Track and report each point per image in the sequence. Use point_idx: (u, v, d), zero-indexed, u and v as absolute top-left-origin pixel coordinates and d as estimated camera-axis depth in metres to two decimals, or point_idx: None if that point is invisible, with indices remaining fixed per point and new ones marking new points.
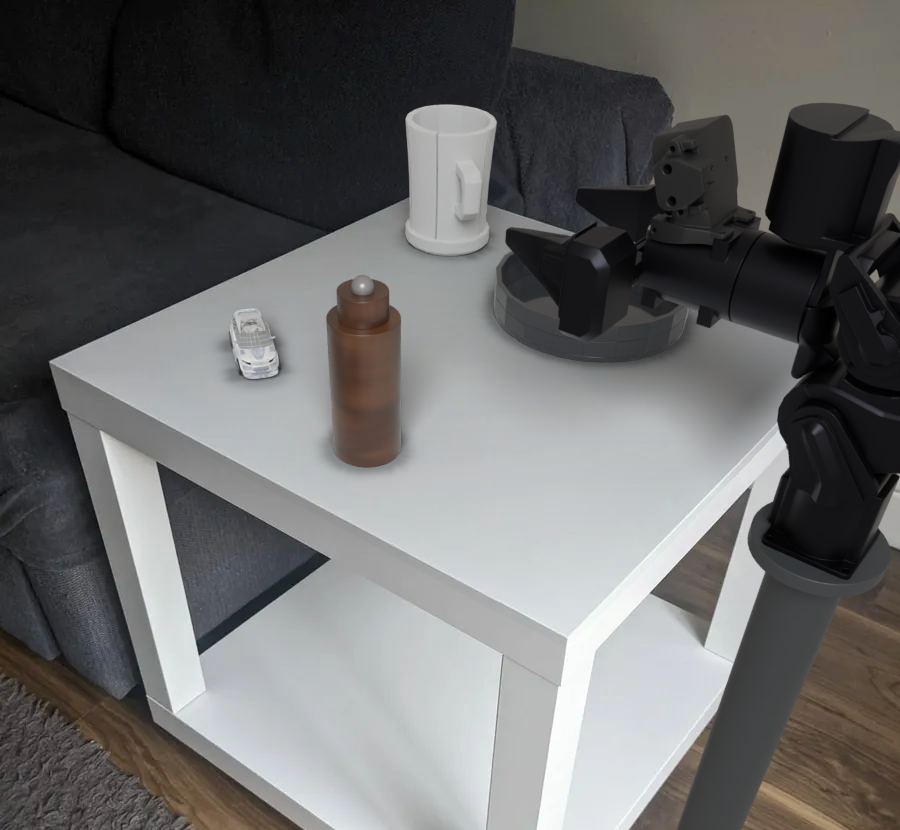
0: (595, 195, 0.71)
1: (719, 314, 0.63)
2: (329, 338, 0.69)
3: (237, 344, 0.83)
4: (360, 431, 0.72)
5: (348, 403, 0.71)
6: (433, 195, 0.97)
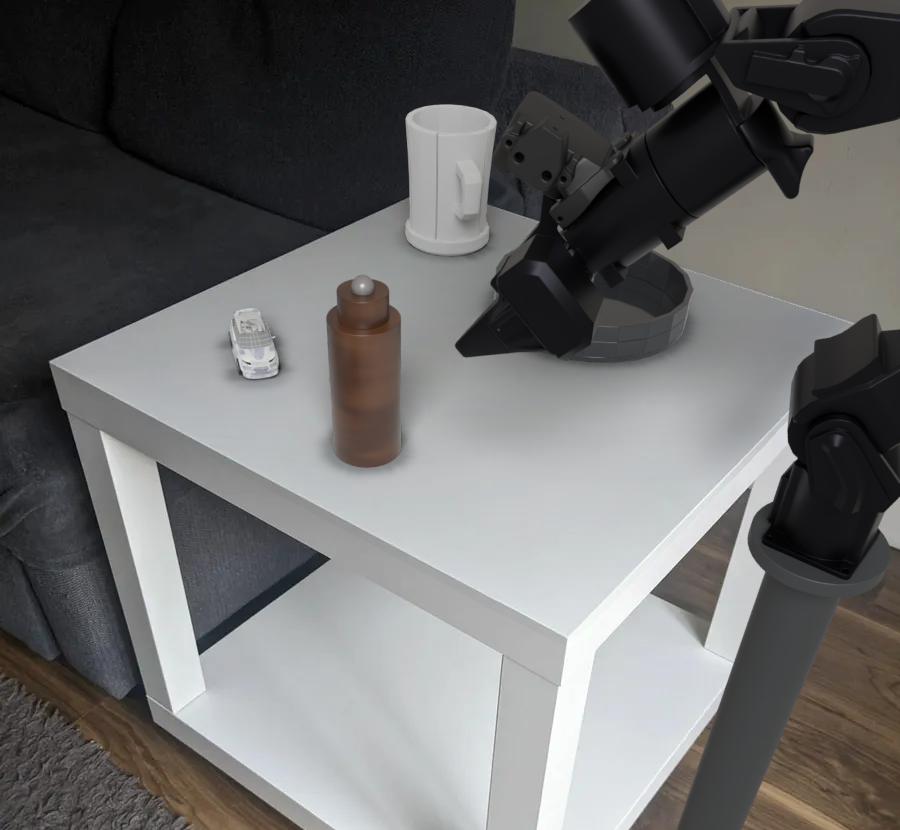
0: None
1: (678, 221, 0.57)
2: (329, 338, 0.69)
3: (237, 344, 0.83)
4: (360, 431, 0.72)
5: (348, 403, 0.71)
6: (433, 195, 0.97)
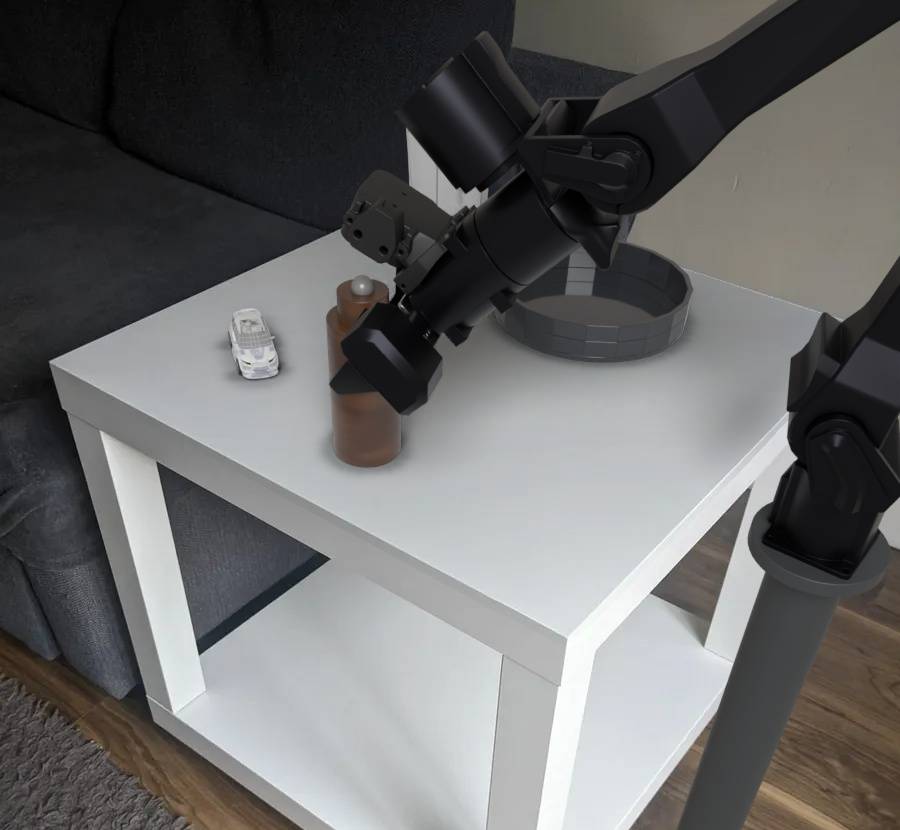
0: None
1: (508, 289, 0.62)
2: (329, 338, 0.69)
3: (237, 344, 0.83)
4: (360, 431, 0.72)
5: (348, 403, 0.71)
6: (433, 195, 0.97)
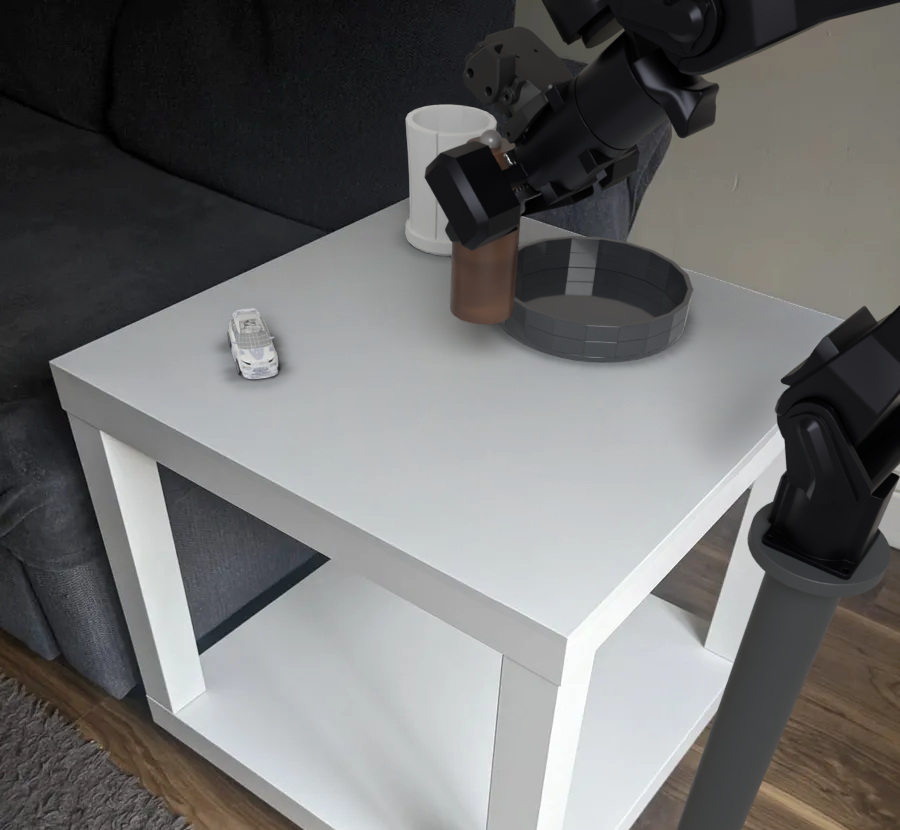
0: None
1: (596, 149, 0.64)
2: None
3: (236, 344, 0.83)
4: (466, 284, 0.77)
5: (459, 253, 0.76)
6: (433, 195, 0.97)
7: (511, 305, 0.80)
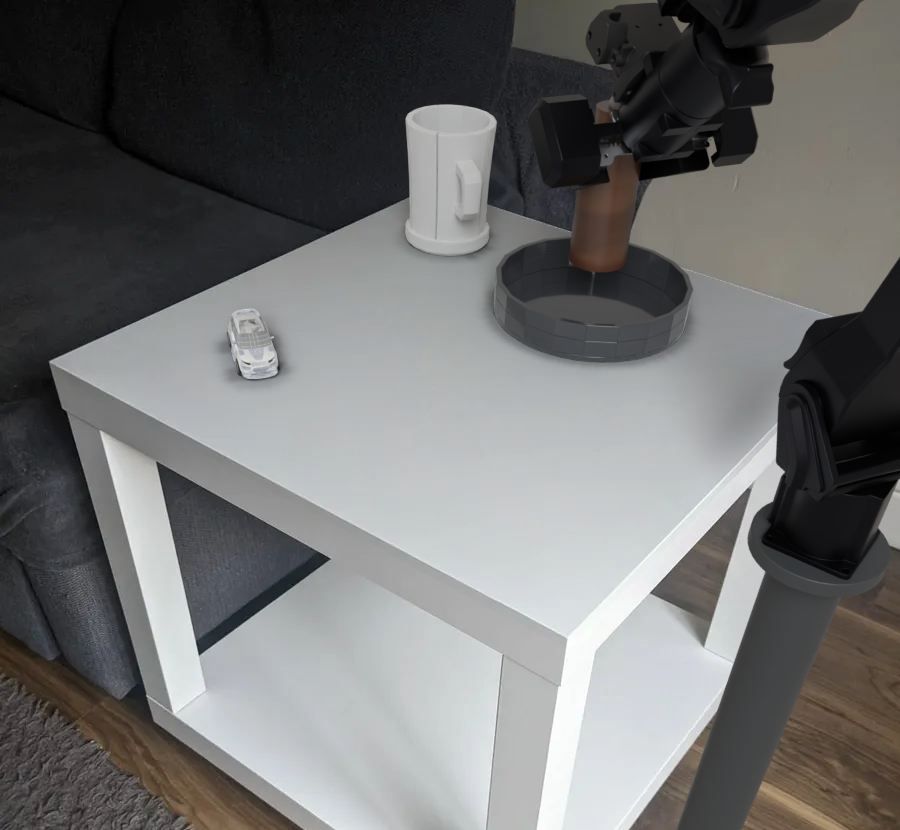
0: None
1: (670, 113, 0.71)
2: None
3: (236, 344, 0.83)
4: (578, 230, 0.86)
5: (577, 201, 0.85)
6: (433, 195, 0.97)
7: (619, 259, 0.88)
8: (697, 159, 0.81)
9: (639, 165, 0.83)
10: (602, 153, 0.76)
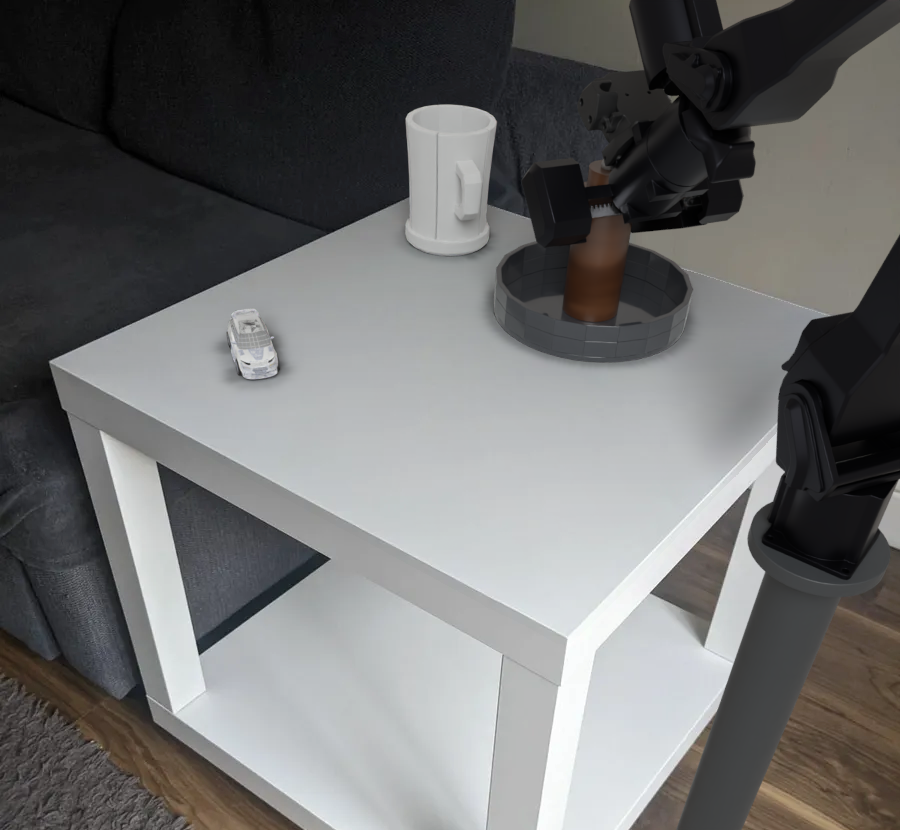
0: None
1: (658, 181, 0.75)
2: None
3: (236, 345, 0.83)
4: (572, 282, 0.90)
5: (570, 254, 0.89)
6: (433, 195, 0.97)
7: (611, 310, 0.91)
8: (698, 214, 0.85)
9: None
10: None
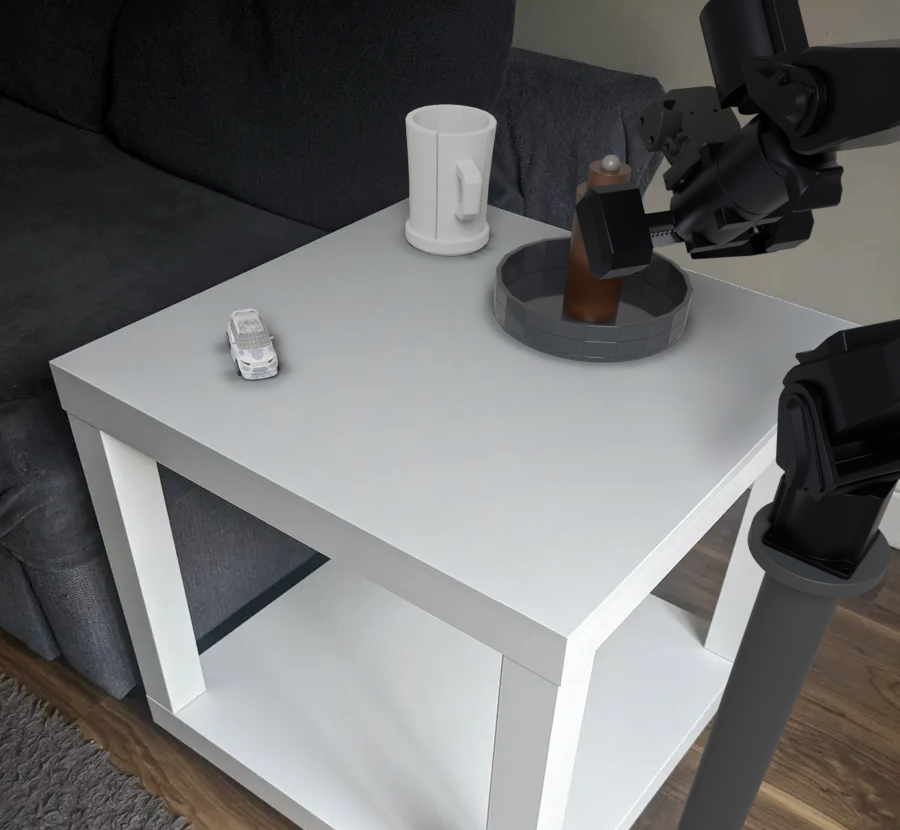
0: None
1: (728, 208, 0.68)
2: None
3: (236, 345, 0.83)
4: (572, 282, 0.90)
5: (570, 255, 0.89)
6: (433, 195, 0.97)
7: (611, 310, 0.91)
8: None
9: None
10: None
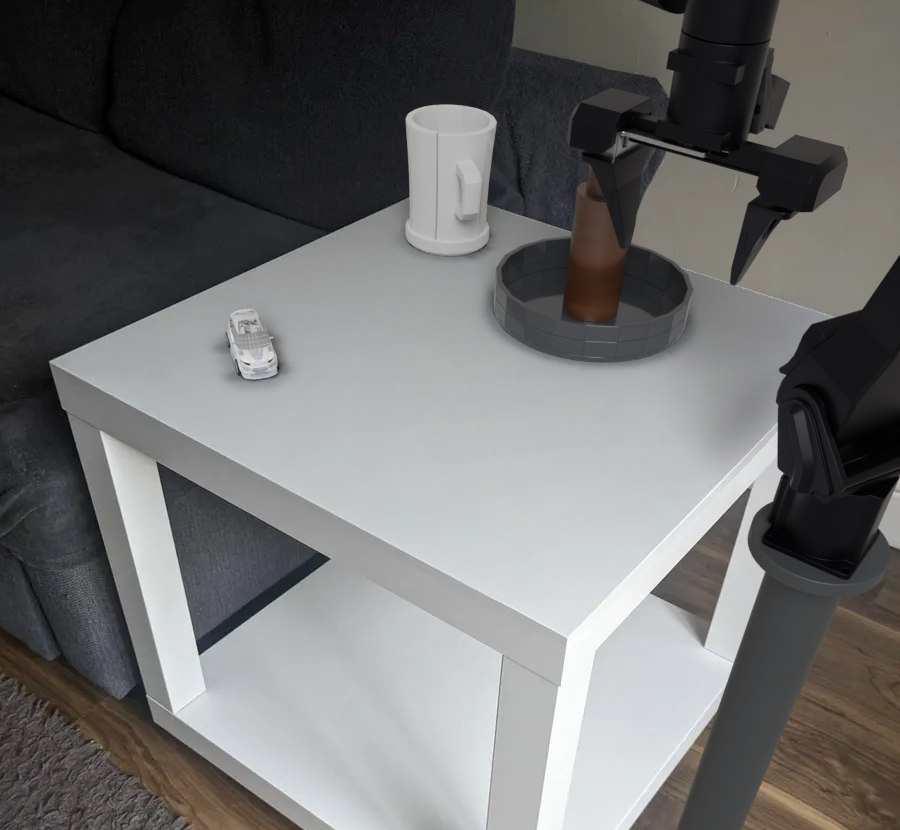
0: None
1: (680, 44, 0.64)
2: None
3: (235, 345, 0.83)
4: (572, 282, 0.90)
5: (570, 255, 0.89)
6: (433, 195, 0.97)
7: (611, 310, 0.91)
8: (778, 206, 0.65)
9: None
10: None
